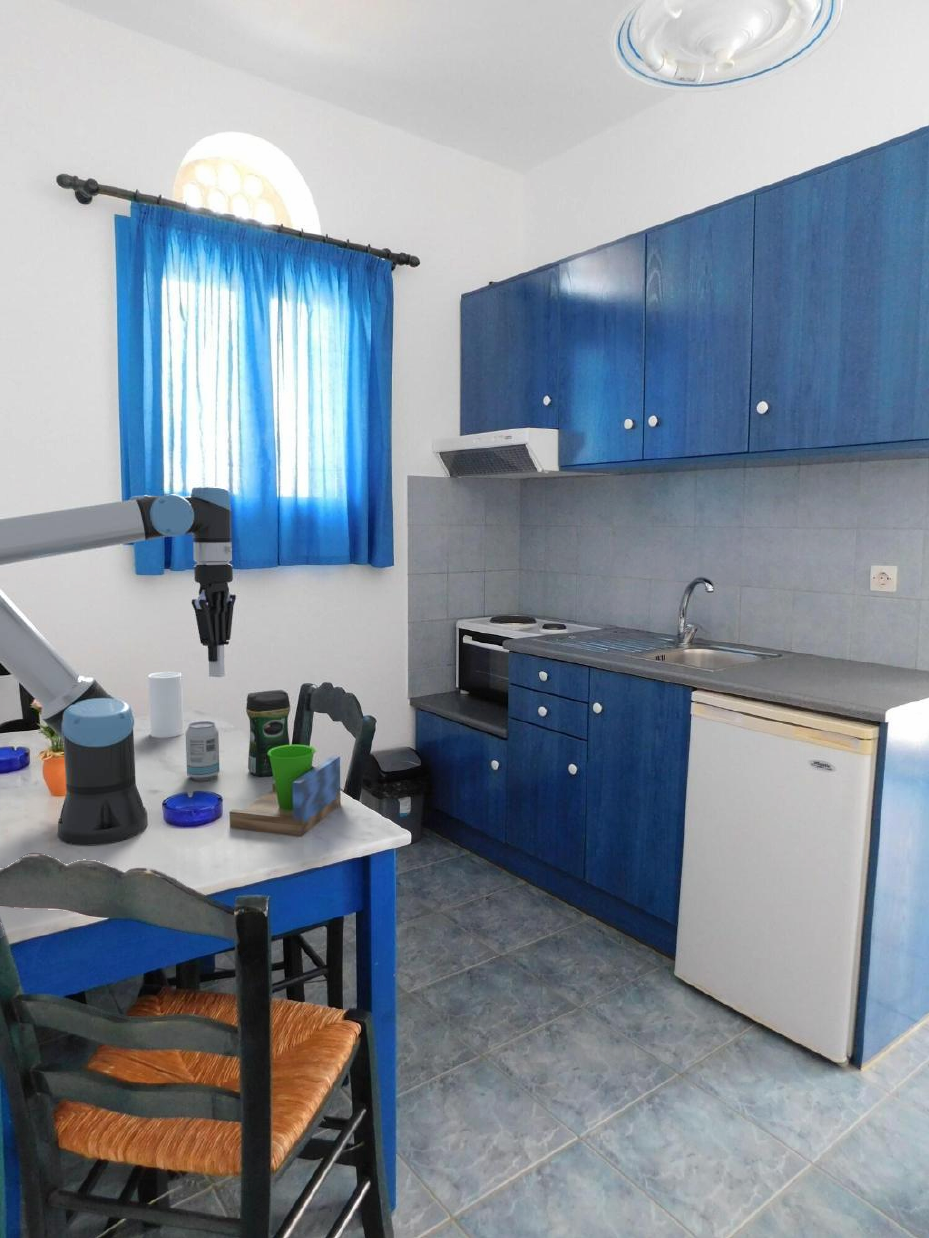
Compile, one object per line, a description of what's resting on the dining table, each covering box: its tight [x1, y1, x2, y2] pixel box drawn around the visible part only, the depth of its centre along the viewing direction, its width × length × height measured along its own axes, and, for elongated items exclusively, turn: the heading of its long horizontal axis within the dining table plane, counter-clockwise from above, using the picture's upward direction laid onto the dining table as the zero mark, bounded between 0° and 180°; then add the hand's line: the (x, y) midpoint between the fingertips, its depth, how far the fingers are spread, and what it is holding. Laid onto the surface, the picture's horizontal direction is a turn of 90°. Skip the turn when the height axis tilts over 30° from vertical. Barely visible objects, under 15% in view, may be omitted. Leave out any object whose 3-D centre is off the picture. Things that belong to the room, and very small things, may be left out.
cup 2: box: [267, 744, 316, 811], centre depth 155 cm, size 9×9×11 cm
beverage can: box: [185, 720, 221, 782], centre depth 178 cm, size 7×7×12 cm
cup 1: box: [147, 671, 184, 739], centre depth 214 cm, size 8×8×16 cm
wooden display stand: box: [229, 755, 342, 837], centre depth 156 cm, size 17×14×10 cm
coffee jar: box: [245, 689, 291, 777], centre depth 183 cm, size 10×8×19 cm
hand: (216, 676), depth 168 cm, fingers closed
